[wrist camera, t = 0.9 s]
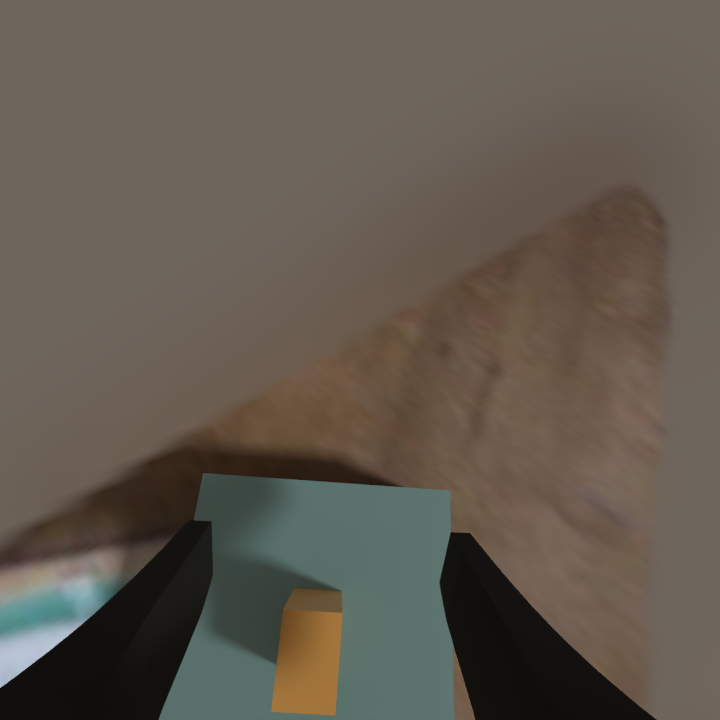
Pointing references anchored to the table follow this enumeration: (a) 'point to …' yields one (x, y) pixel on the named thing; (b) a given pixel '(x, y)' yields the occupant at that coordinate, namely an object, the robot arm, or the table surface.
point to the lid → (319, 604)
